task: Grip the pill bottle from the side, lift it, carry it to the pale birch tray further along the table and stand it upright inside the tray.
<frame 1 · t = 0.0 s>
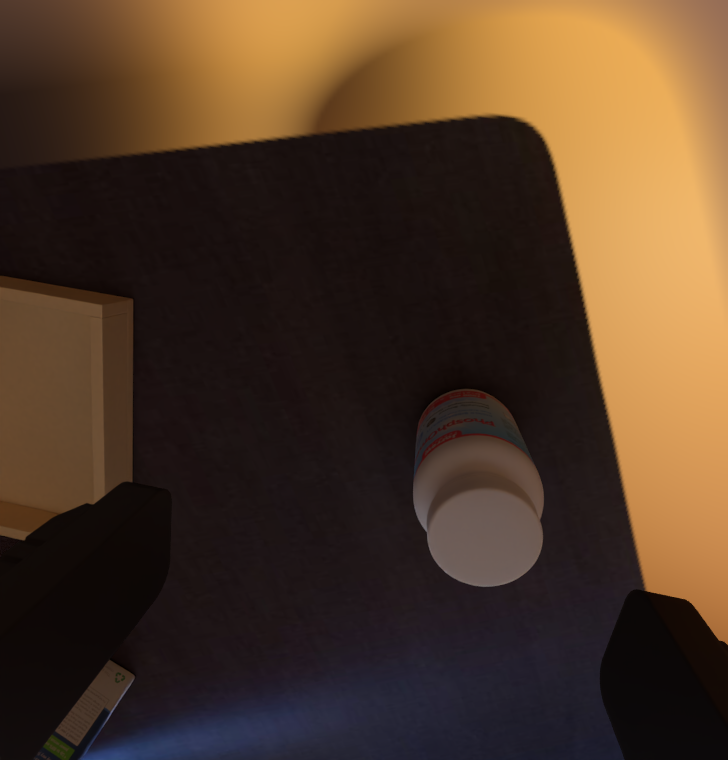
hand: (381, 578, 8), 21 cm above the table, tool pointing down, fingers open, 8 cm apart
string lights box: (58, 656, 40), on the table
pill bottle: (464, 431, 30), on the table
tray: (29, 404, 33), on the table
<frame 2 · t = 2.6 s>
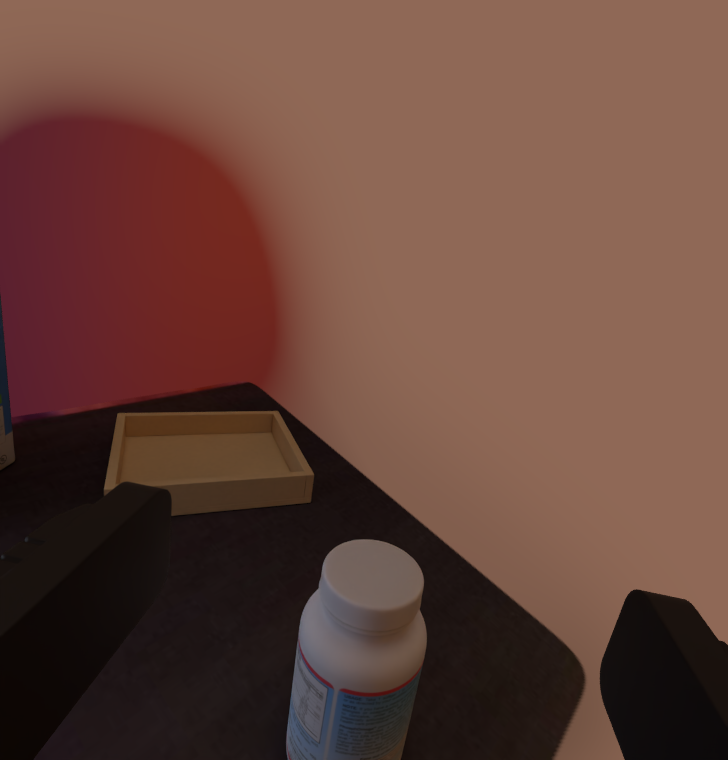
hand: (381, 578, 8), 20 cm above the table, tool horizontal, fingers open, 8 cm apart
pill bottle: (341, 749, 25), on the table
tray: (208, 468, 49), on the table
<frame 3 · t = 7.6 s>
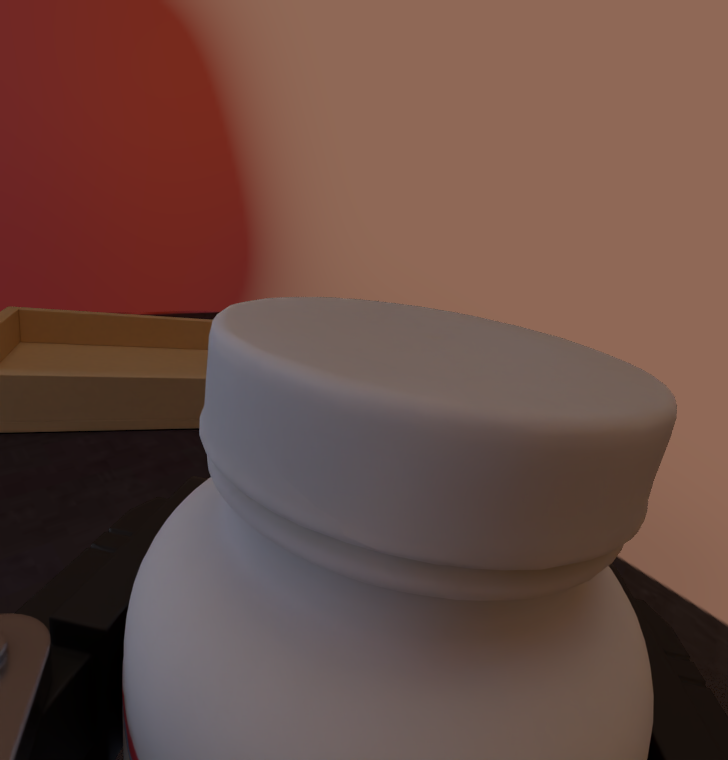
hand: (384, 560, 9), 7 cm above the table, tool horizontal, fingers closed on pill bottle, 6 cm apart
tray: (135, 382, 33), on the table
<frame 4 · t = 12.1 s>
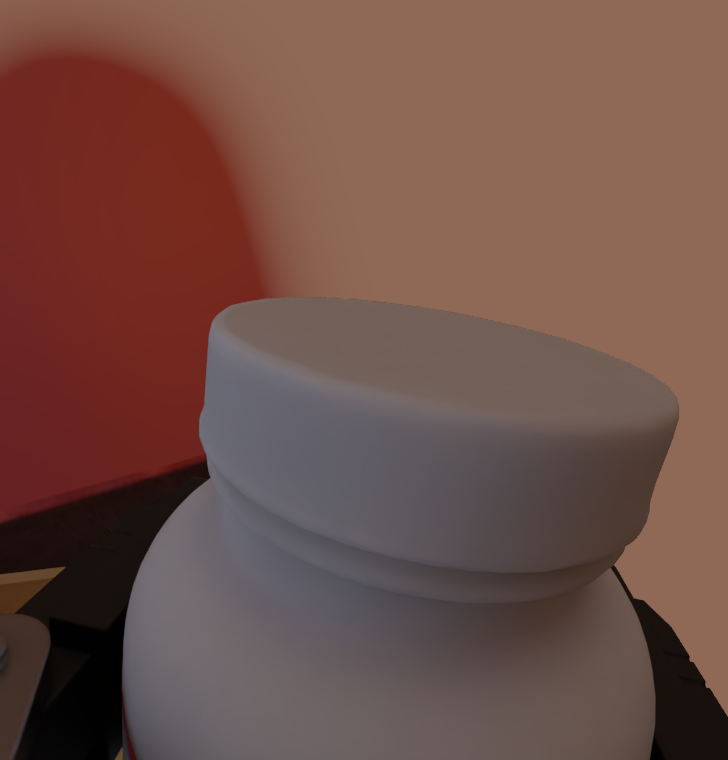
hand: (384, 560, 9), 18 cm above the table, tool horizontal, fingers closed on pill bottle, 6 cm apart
tray: (157, 716, 23), on the table
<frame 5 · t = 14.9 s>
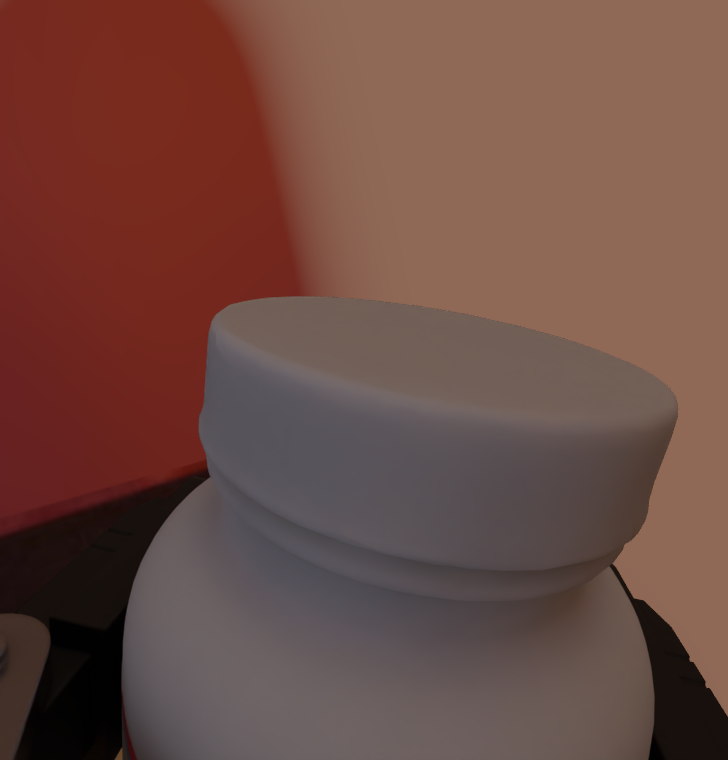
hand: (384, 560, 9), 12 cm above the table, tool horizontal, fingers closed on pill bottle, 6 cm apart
when the fingers open (7 cm above the table, at t = 16.9 s): pill bottle stays where it is, resting on tray.
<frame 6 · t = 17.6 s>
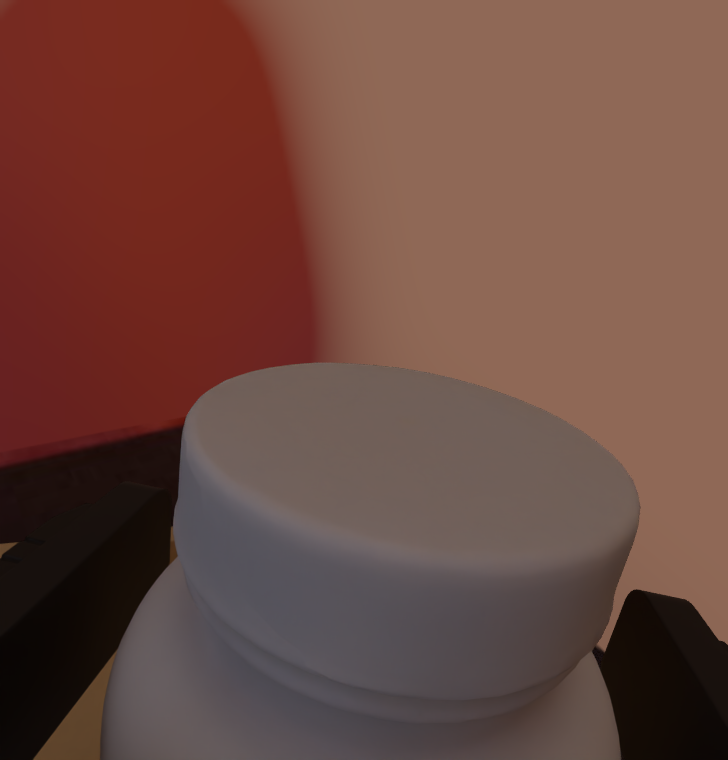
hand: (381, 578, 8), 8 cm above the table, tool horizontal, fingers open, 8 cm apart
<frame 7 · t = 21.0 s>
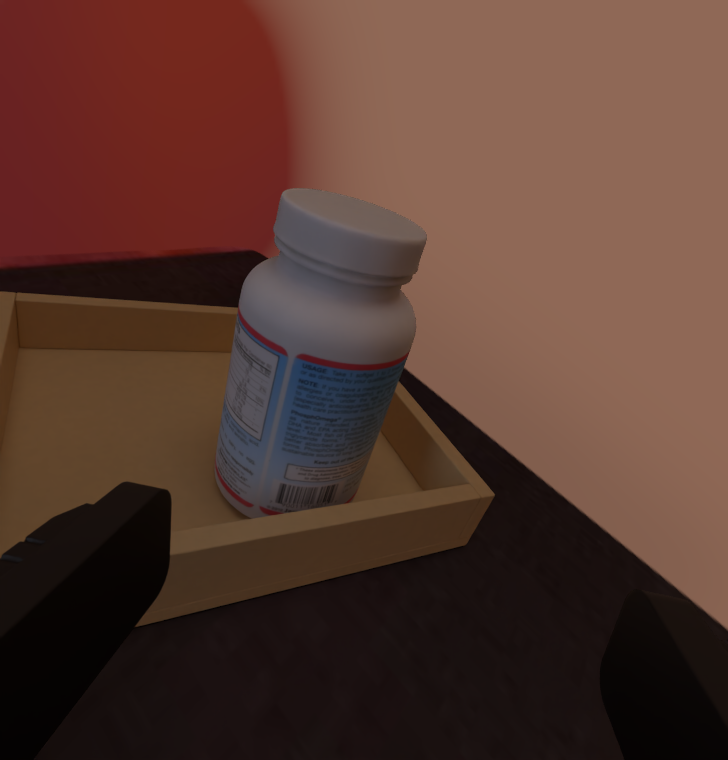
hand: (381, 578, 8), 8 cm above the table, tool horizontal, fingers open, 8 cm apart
pill bottle: (284, 480, 20), resting on tray
tray: (222, 443, 22), on the table
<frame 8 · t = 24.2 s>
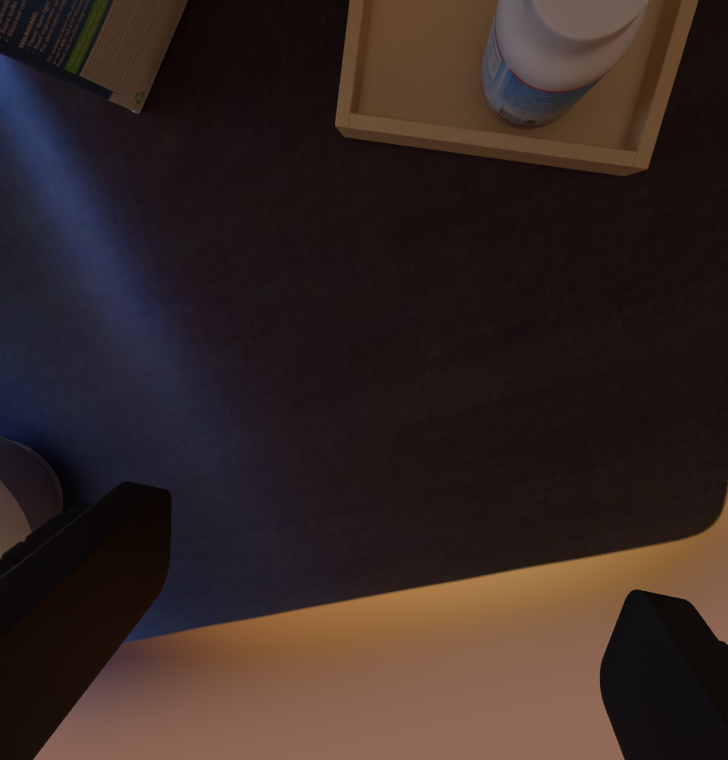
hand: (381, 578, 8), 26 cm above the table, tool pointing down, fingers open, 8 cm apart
pill bottle: (531, 73, 28), resting on tray
bowl: (17, 485, 42), on the table
tray: (511, 10, 27), on the table
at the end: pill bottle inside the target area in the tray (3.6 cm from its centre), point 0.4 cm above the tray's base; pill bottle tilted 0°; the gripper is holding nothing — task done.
